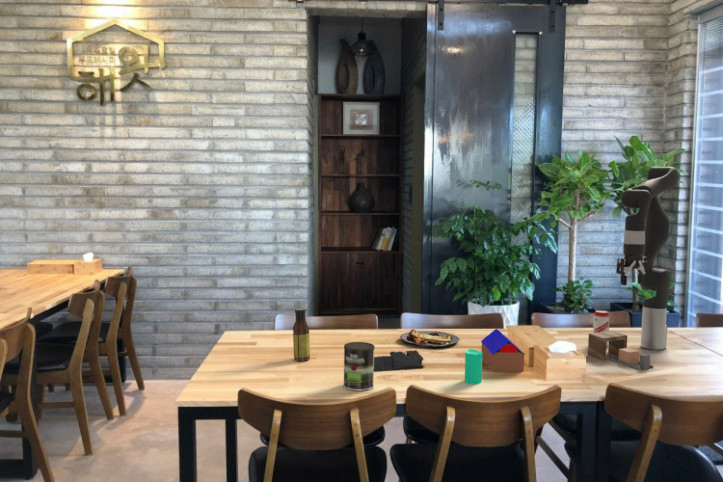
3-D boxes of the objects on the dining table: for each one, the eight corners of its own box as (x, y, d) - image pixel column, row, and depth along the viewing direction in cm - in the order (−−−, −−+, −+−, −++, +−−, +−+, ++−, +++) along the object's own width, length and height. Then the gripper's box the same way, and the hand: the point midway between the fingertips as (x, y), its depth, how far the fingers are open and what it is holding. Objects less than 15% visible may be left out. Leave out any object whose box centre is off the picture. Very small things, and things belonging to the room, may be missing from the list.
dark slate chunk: (359, 362, 259) (359, 350, 259) (413, 358, 266) (414, 346, 265) (371, 373, 245) (371, 360, 244) (428, 369, 251) (428, 356, 250)
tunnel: (610, 355, 271) (611, 330, 270) (626, 360, 264) (627, 335, 263) (587, 358, 266) (588, 333, 265) (602, 363, 259) (603, 338, 258)
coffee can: (367, 393, 222) (368, 350, 221) (338, 389, 226) (339, 347, 224) (378, 384, 232) (378, 343, 230) (350, 380, 235) (350, 340, 234)
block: (628, 360, 258) (629, 347, 258) (638, 364, 254) (639, 351, 253) (618, 362, 256) (619, 349, 256) (628, 365, 251) (629, 352, 251)
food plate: (392, 344, 284) (393, 336, 284) (409, 333, 306) (410, 325, 305) (450, 352, 275) (451, 344, 275) (464, 340, 296) (464, 332, 296)
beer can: (609, 351, 277) (611, 313, 275) (593, 350, 278) (594, 312, 276) (606, 347, 283) (608, 310, 281) (591, 347, 284) (592, 309, 282)
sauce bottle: (312, 358, 262) (312, 308, 260) (306, 362, 256) (306, 311, 254) (297, 357, 264) (297, 306, 262) (290, 361, 258) (290, 309, 256)
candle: (462, 378, 238) (463, 345, 237) (479, 378, 239) (480, 345, 238) (466, 384, 232) (467, 349, 231) (483, 383, 233) (484, 349, 232)
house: (492, 372, 247) (493, 341, 246) (480, 357, 267) (481, 328, 266) (524, 372, 248) (525, 341, 246) (510, 357, 267) (511, 328, 266)
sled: (622, 360, 262) (623, 345, 261) (653, 370, 249) (654, 354, 248) (609, 362, 259) (610, 347, 258) (639, 372, 246) (640, 356, 245)
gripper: (640, 240, 264) (638, 281, 266) (612, 242, 259) (610, 284, 260) (655, 242, 258) (653, 284, 259) (627, 244, 252) (625, 287, 253)
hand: (632, 284), depth 260 cm, fingers open, 8 cm apart
